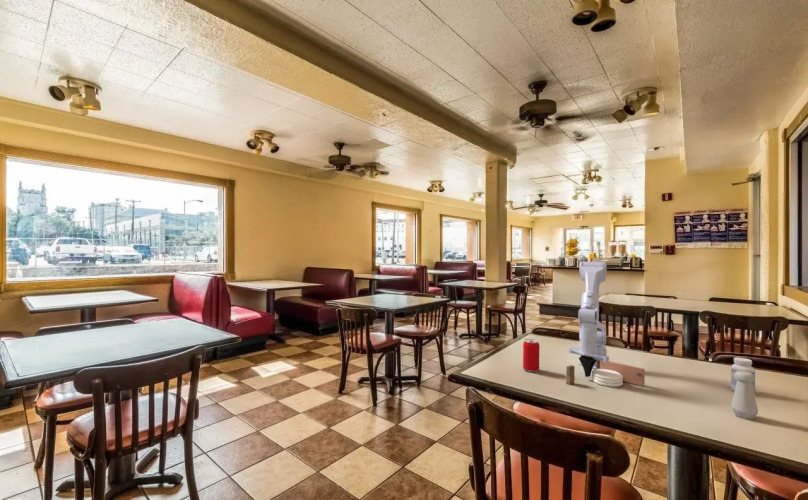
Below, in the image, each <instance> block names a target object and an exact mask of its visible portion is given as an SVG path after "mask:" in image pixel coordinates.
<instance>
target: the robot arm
mask: <svg viewBox="0 0 808 500" xmlns="http://www.w3.org/2000/svg"><path fill="white" fill-rule="evenodd" d="M578 272H579V275H580V278H581V281H584V282H585V291H584V292H582V294H581V302H580V308H579V309H578V315H577V316H578V327H579V332H578V334H579V337H578V338H579V348H577V347H572V346H571V347H568V353H569V354H575V355H579V357H578V360H579V362H578V365H581V366H582V368H583V372H584V376H585V377H586V378H590V377H591V376H592V371H593V370H595V369H596V361H597V360H600V361H603V362H609V361H610V356H608V355H607V354H608V352H607V351H608V350H607V348H606V346H605V345H606V344H607V330H606V329H607V328H606V326H605V325H604V324H603V323H602V322H600V321H599V319H600V318H599V317H600V314H599V312H600V309H599V307H600V286H601V284H602V283H603V282H606V279H607V263H606V261H583V260H582V261H580V262H579V271H578Z"/></svg>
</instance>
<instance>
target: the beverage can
mask: <svg viewBox="0 0 808 500" xmlns="http://www.w3.org/2000/svg"><path fill="white" fill-rule="evenodd" d="M522 344H523V345H522V348H523V349H522V352H523V353H522V369H524V370H525V371H526V372H530V373H537V372H538V371H539V370H540V347H541V346H540V343H539V341H538V340H537V339H533V338H525V339H524V341H523V343H522Z"/></svg>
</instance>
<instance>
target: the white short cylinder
mask: <svg viewBox="0 0 808 500" xmlns="http://www.w3.org/2000/svg"><path fill="white" fill-rule="evenodd" d="M591 381H592V382H594V383H595V384H598V385H600V386H604V387H608V388H609V387H610V388H619V387H622V386H623V385H624V383H623V382H624V381H623V376H622V375H621V374H620V373H618V372H616V371H612V370H607V369H592V371H591Z"/></svg>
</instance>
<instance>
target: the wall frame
mask: <svg viewBox="0 0 808 500" xmlns="http://www.w3.org/2000/svg"><path fill="white" fill-rule="evenodd" d="M575 369H576V366H575V365H567V366H566V381H565V382H566V385H569V386H570V385H573V384H575ZM596 369H600V360H597V361H596Z"/></svg>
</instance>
